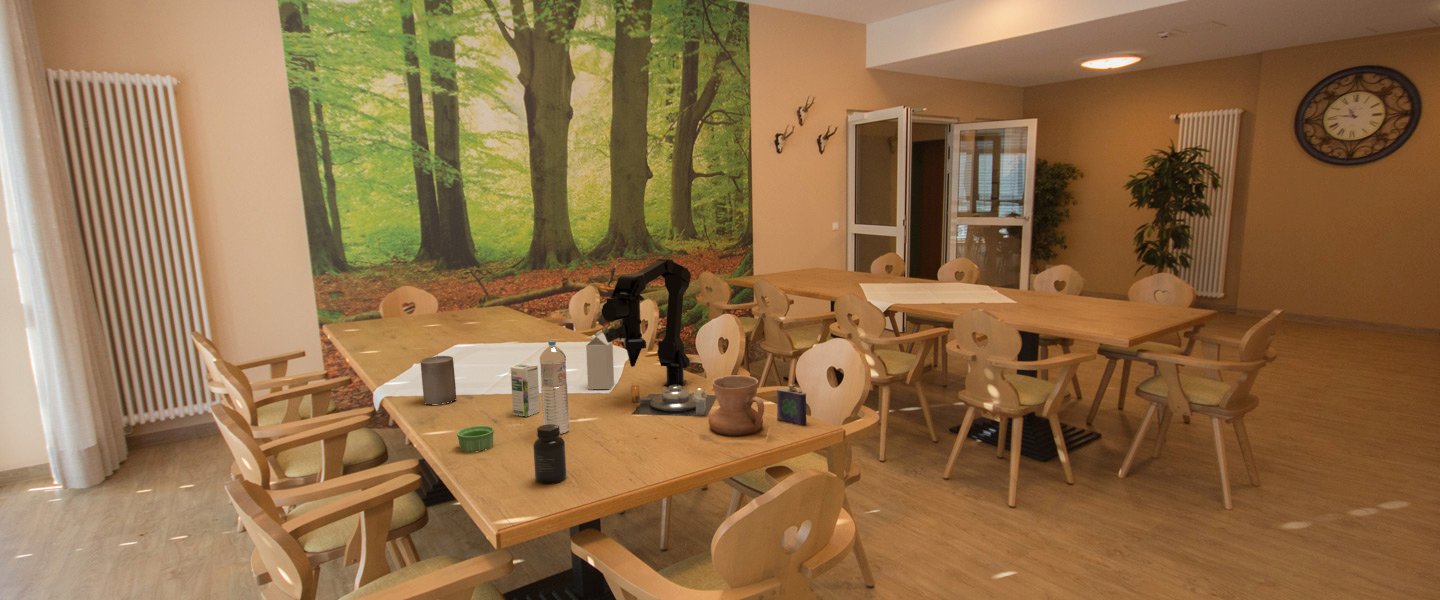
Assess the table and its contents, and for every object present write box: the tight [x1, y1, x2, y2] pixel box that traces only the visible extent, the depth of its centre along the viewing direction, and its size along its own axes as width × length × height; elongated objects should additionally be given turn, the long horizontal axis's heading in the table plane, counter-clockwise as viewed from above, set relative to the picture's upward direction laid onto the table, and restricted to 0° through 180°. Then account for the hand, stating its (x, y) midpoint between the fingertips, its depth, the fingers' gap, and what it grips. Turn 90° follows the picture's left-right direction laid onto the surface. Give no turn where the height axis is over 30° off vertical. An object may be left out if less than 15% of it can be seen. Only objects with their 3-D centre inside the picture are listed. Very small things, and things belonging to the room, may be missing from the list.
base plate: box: [630, 393, 717, 417], centre depth 215 cm, size 22×22×1 cm
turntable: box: [630, 384, 696, 411], centre depth 215 cm, size 16×22×5 cm
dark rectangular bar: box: [691, 387, 708, 416], centre depth 203 cm, size 3×4×8 cm
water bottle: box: [539, 340, 570, 435], centre depth 192 cm, size 7×7×25 cm
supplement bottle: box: [533, 424, 567, 485], centre depth 160 cm, size 7×7×12 cm
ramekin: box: [456, 425, 495, 453], centre depth 183 cm, size 9×9×4 cm
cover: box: [661, 385, 690, 404], centre depth 214 cm, size 8×8×4 cm
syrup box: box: [510, 363, 541, 418], centre depth 210 cm, size 6×6×14 cm
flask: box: [776, 384, 807, 427], centre depth 198 cm, size 9×3×11 cm, turn 50°
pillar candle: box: [419, 354, 457, 405], centre depth 225 cm, size 10×10×15 cm
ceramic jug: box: [708, 374, 765, 437], centre depth 190 cm, size 18×14×14 cm
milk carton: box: [585, 329, 615, 390], centre depth 238 cm, size 7×7×19 cm
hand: (632, 366), depth 222 cm, fingers closed
